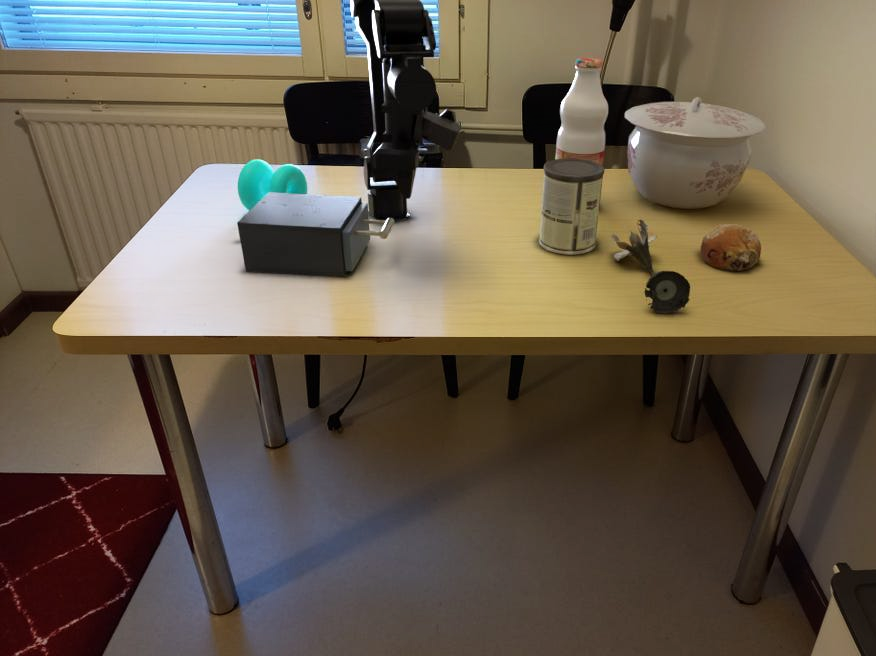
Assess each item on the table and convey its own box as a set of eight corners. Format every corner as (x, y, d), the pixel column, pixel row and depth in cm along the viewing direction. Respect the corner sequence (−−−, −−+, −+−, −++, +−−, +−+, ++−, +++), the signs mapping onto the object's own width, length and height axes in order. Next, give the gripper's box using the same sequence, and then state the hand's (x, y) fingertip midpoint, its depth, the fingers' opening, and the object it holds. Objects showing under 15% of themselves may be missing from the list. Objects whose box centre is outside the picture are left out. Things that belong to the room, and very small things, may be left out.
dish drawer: (399, 241, 121) (398, 204, 118) (384, 273, 110) (382, 234, 107) (285, 234, 123) (280, 198, 119) (259, 266, 112) (253, 227, 108)
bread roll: (753, 275, 123) (763, 231, 122) (759, 274, 113) (769, 225, 112) (696, 267, 126) (705, 223, 124) (697, 264, 116) (707, 217, 115)
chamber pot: (647, 226, 132) (665, 115, 121) (594, 181, 154) (605, 84, 143) (775, 217, 138) (803, 110, 127) (706, 175, 160) (725, 81, 149)
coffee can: (549, 229, 130) (555, 154, 122) (602, 239, 126) (611, 163, 119) (529, 248, 122) (535, 170, 114) (585, 259, 119) (594, 179, 111)
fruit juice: (542, 203, 142) (552, 57, 127) (576, 195, 146) (590, 53, 131) (572, 217, 135) (587, 65, 120) (607, 209, 140) (625, 61, 125)
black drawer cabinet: (364, 242, 123) (361, 196, 118) (344, 277, 111) (340, 228, 106) (275, 237, 124) (268, 192, 119) (245, 271, 112) (236, 222, 107)
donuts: (284, 226, 128) (276, 173, 123) (239, 218, 131) (230, 166, 126) (312, 209, 136) (307, 158, 131) (269, 202, 139) (262, 152, 133)
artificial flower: (633, 321, 103) (623, 259, 99) (615, 273, 123) (605, 220, 119) (694, 309, 102) (685, 245, 98) (665, 262, 122) (657, 208, 118)
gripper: (449, 112, 93) (449, 221, 102) (464, 85, 109) (463, 182, 117) (368, 109, 94) (375, 217, 102) (395, 82, 110) (399, 178, 118)
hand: (407, 197), depth 110 cm, fingers closed
